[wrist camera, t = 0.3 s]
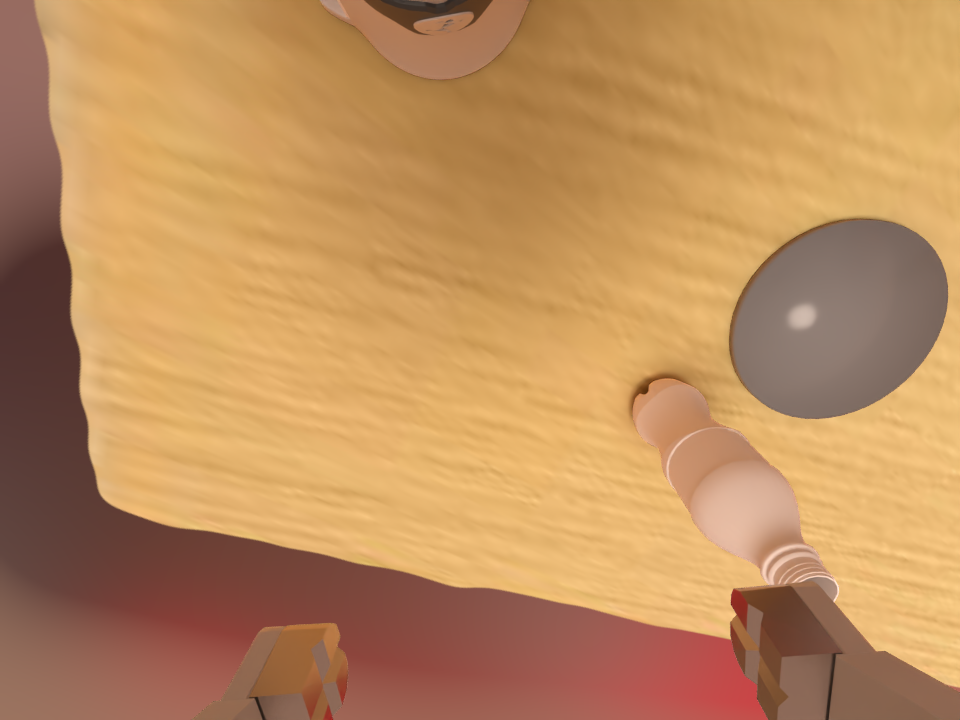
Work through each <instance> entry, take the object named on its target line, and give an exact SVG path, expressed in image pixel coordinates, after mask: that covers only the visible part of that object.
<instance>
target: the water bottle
mask: <svg viewBox="0 0 960 720" xmlns="http://www.w3.org/2000/svg"><path fill="white" fill-rule="evenodd" d="M633 421H634V424H635V427H636V429H637V431H638V433H639V435H640V436H641V437H642V438H643V439H644V440H645V441H646V442H647V443H649V444H651V445H653V446H655V447H657V448H658V449H659V451H660V455H661V462H662V469H663V472H664V475H665V477H666V478H667V480H668V482H669V483H670V485H671V486H672V487H673V489H674V490H675V491H676V492H677V493H678V495H679V496H680V498H681V500H682V501H683V503H684V504H685V506H686V508H687V509H688V511H689V512H690V514H691V517H692V519H693V522H694V524H695V525H696V526H697V528H698V529H699V530H700V531H701V532H702V534H703V535H704V536H705V537H706V538H708V539H709V540H710V541H711V542H713V543H714V544H716V545H717V546H719V547H720V548H722V549H724V550H726V551H728V552H730V553H732V554H734V555H736V556H738V557H740V558H743V559H745V560H747V561H749V562H751V563H753V564H755V565H756V566H757V567H758V568H759V569H760V573H761V576H762V577H763V579H764V580H765V581H766V583H768V584H769V585H777V584H787V583H797V582H808V581H813V582H815V583H817V584H818V585H819V586H820V587H821V588H822V589H823V590H824V591H825V593H826V594H827V595H828V596H829V597H830V598H831V600H832V601H833V602H834V601H835V600H836V598H837V596H838V594H839V586H838V584H837V583H836V581H835V579H834V577H833V576H832V575H831V574H830V573H829V572H828V571H827V570H826V568H825V567H824V566H823V563H822V561H821V559H820V557H819V555H818V553H817V551H816V550H815V549H814V548H813V547H812V546H810V545H808V544H806V543H805V542H804V540H803V537H802V534H801V527H800V516H799V510H798V505H797V501H796V498H795V495H794V492H793V490H792V488H791V486H790V484H789V483H788V481H787V480H786V478H785V477H784V476H783V475H782V473H781V472H780V471H779V470H778V469H776V468H775V467H774V466H772V465H770V464H769V463H768V462H767V461H766V460H765V459H764V458H763V457H762V456H761V455H760V454H759V453H758V452H757V451H756V450H755V449H754V448H753V447H752V446H751V445H750V443H749V441H748V440H747V438H746V437H745V436H744V435H743V434H742V433H741V432H739V431H737V430H735V429H732V428H729V427H726V426H723V425H721V424H719V423H717V422H716V421H714V420H713V419H712V418H711V416H710V412H709V407H708V404H707V402H706V400H705V398H704V396H703V395H702V394H701V393H700V392H699V391H698V390H697V389H696V388H695V387H693V386H690V385H688V384H686V383H683V382H681V381H678V380H676V379H669V378H666V379H659V380H655V381H653V382H652V383H650V384H649V391H648V393H647V394H645V395H644V394H640V393H639V395H638V396H637V397H636V398H635V401H634V404H633Z"/></svg>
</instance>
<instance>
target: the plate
mask: <svg viewBox="0 0 960 720" xmlns="http://www.w3.org/2000/svg"><path fill="white" fill-rule="evenodd" d="M947 303H948V284H947V278H946V273H945V270H944V267H943V265H942V262H941V260H940V258H939V256H938V255H937V253H936V251H935V250H934V249H933V248H932V246H931V245H930V244H929V243H928V242H927V241H926V240H925V239H924V238H922V237H921V236H920V235H919V234H917V233H915V232H914V231H912V230H910V229H908V228H906V227H903V226H901V225H898V224H895V223H890V222H885V221H879V220H871V219H850V220H841V221H837V222H832V223H828V224H825V225H822V226H819V227H816V228H814V229H811V230H809V231H807V232H805V233H803V234H801V235H799V236H797V237H796V238H794V239H793V240H791V241H789V242H788V243H786V244H785V245H784V246H782V247H781V248H780V249H778V250H777V251H776V252H775V253H773V254H772V255H771V256H770V257H769V258H768V259H767V260H766V261H765V262H764V263H763V264H762V265H761V266H760V268H759V269H758V270H757V271H756V272H755V274H754V275H753V276H752V278H751V279H750V281H749V282H748V284H747V285H746V287H745V288H744V290H743V292H742V294H741V296H740V298H739V300H738V302H737V305H736V308H735V311H734V313H733V317H732V322H731V326H730V336H729V346H730V355H731V360H732V364H733V366H734V369H735V372H736V374H737V376H738V377H739V379H740V381H741V383H742V384H743V385H744V386H745V388H746V389H747V390H748V391H749V392H750V393H751V394H752V395H753V396H755V397H756V398H757V399H758V400H759V401H761V402H762V403H763V404H765V405H766V406H768V407H769V408H771V409H773V410H775V411H777V412H780V413H782V414H785V415H789V416H792V417H798V418H805V419H821V418H831V417H836V416H841V415H845V414H848V413H851V412H855V411H857V410H860V409H862V408H864V407H867V406H869V405H871V404H873V403H875V402H876V401H878V400H880V399H882V398H883V397H885V396H886V395H888V394H889V393H891V392H892V391H894V390H895V389H896V388H897V387H899V386H900V385H901V384H902V383H903V382H905V381H906V380H907V379H908V378H909V377H910V376H911V375H912V374H913V373H914V372H915V370H916V369H917V368H918V367H919V366H920V365H921V363H922V362H923V361H924V359H925V358H926V356H927V355H928V354H929V352H930V351H931V349H932V347H933V345H934V343H935V342H936V340H937V338H938V336H939V333H940V331H941V328H942V326H943V323H944V319H945V315H946V311H947Z"/></svg>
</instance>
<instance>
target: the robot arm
mask: <svg viewBox="0 0 960 720" xmlns="http://www.w3.org/2000/svg"><path fill="white" fill-rule="evenodd" d="M529 1H530V0H320V2H321V4H322V5H323V7H324V8H325V9H326V10H327V11H328V12H329V13H331V14H332V15H334V16H335V17H337V18H339V19H341V20H343V21H345V22H347V23H349V24H351V25H353V26H355V27H356V28H357V29H358V30H359V31H360V32H361V33H362V34H363V35H364V36H365V37H366V38H367V39H368V40H369V42H370V43H371V44H372V45H373V46H374V47H375V49H376V50H377V51H378V52H379V53H380V54H381V55H382V56H384V57H385V58H386V59H387V60H388V61H390V62H391V63H392V64H394V65H395V66H397V67H398V68H400V69H402V70H404V71H406V72H408V73H410V74H413V75H416V76H419V77H423V78H428V79H438V80H444V79H454V78H458V77H462V76H465V75H468V74H471V73H473V72H475V71H477V70H479V69H481V68H482V67H484V66H486V65H487V64H488V63H490V62H491V61H492V60H493V59H495V58H496V57H497V56H498V55H499V54H500V53H501V52H502V51H503V49H504V48H505V47H506V46H507V44H508V43H509V42H510V40H511V39H512V37H513V36H514V34H515V32H516V31H517V29H518V27H519V25H520V23H521V20H522V18H523V15H524V13H525V10H526V8H527V5H528V3H529ZM731 606H732V607H733V609H734V611H735V613H736V614H737V615H736V616H735V617H734V618H733V620H732V621H731V622H730V636H731V641H732V645H733V650H734V653H735V655H736V658H737V661H738V663H739V665H740V667H741V669H742V671H743V673H744V675H745V676H746V677H747V678H749V679H750V680H751V681H753V682H754V683H755V684H757V700H758V701H759V703H760V705H761V707H762V709H763V711H764V712H765V714H766V716H767V718H768V720H960V692H958V691H956V690H954V689H953V688H951V687H949V686H947V685H945V684H944V683H942V682H940V681H938V680H936V679H935V678H933V677H931V676H929V675H927V674H925V673H924V672H922V671H920V670H918V669H916V668H915V667H913V666H911V665H909V664H907V663H906V662H904V661H902V660H900V659H898V658H897V657H895V656H893V655H891V654H889V653H888V652H886V651H875V649H874V648H873V647H872V646H871V645H870V644H869V642H868V641H867V640H866V639H865V638H864V637H863V636H862V634H861V633H860V632H859V631H858V630H857V629H856V627H855V626H854V625H853V624H852V623H851V622H850V620H849V619H848V618H847V617H846V616H845V615H844V613H843V612H842V611H841V610H840V609H839V608H838V607H837V605H836V604H835V603H834V602H833V601H832V600H831V598H830V597H829V596H828V595H827V594H826V593H825V591H824V590H823V589H822V588H821V587H820V586H819V585H818V584H817V583H815V582H813V581H808V582H797V583H787V584H777V585H767V586H756V587H746V588H735V589H733V591H732V594H731ZM339 639H340V635H339V631H338V628H337V625H336V624H333V623H324V624H305V625H288V626H280V627H264V628H263V629H262V630H261V631H260V632H259V633H258V634H257V636H256V637H255V639H254V641H253V643H252V645H251V647H250V648H249V650H248V652H247V654H246V656H245V657H244V659H243V661H242V663H241V665H240V667H239V668H238V670H237V672H236V674H235V676H234V677H233V679H232V681H231V683H230V685H229V686H228V688H227V690H226V692H225V694H224V695H223V697H222V699H221V701H213V702H212V703H211V704H210V705H209V706H207V707H206V708H205V709H204V710H203V711H202V712H201V713H199V714H198V715H197V716H195V717H194V718H193V719H192V720H333V717H332V716H333V715H334V714H335V713H336V712H337V711H338V710H339V709H340V707H341V706H342V705H343V702H344V698H345V695H346V691H347V682H348V665H347V660H346V655H345V653H344V652H343V651H342V650H340V649H339V648H338V647H337V644H338V642H339Z"/></svg>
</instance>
